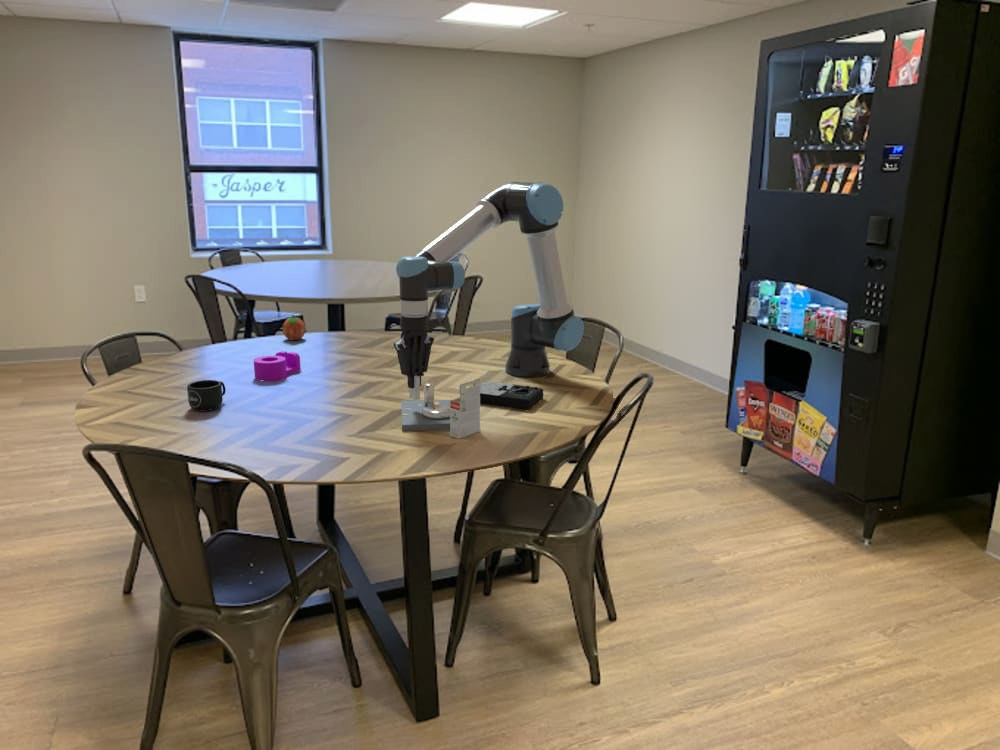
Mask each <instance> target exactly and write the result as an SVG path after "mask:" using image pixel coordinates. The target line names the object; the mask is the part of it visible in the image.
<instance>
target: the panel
mask: <svg viewBox="0 0 1000 750" xmlns="http://www.w3.org/2000/svg"><path fill="white" fill-rule="evenodd" d="M451 400H452V399H434V404H435V405H436V406H447V407H450V401H451ZM400 403H401V404H400V405H401V408H400V409H401V430H402V432H403V431H406V432H407V431H433V430H434V431H435V430H437V431H438V430H439V431H440V430H450V418H448V419H441V420H435V419H428V418H425V417H423V416H422V410H423V409H424V408H426V407H427V406H425V405H424V400H420V399H418V400H401V402H400Z"/></svg>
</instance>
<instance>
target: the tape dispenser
mask: <svg viewBox="0 0 1000 750" xmlns="http://www.w3.org/2000/svg"><path fill="white" fill-rule="evenodd" d="M253 369H254V379H255V378H256V379H258V380H263V381H262V382H265V381H270V382H278V381H277V380H279V381H282V380H285V379H286V378H287V377H289V376H291V375H293V374H296V373H298V372H300V371H301V370H302V369H301V357H300V355H299V354H298V353H297V352H294V351H289V352H288V351H286V350H282V351H281V350H280V351H278V352H277V353H275V354H274V355H263V356H258V357H255V358H254V359H253ZM295 372H296V373H295ZM290 374H291V375H290ZM288 375H289V376H288ZM284 378H285V379H284ZM256 379H255V380H256ZM281 379H282V380H281ZM258 380H257V381H258Z"/></svg>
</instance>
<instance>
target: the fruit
mask: <svg viewBox="0 0 1000 750" xmlns="http://www.w3.org/2000/svg"><path fill="white" fill-rule="evenodd" d="M305 333H306V325H305V323H304V321H303V320H302V318H301V317H299V316H295V315H294V314H292V317H289V318H287V319H286V320H285V321H284V323H283V324H282V334H283V335H284V337H286V339H287V340H290V341H299V340H301V339H302V338H303V337H304V336H305Z"/></svg>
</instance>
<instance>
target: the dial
mask: <svg viewBox="0 0 1000 750" xmlns="http://www.w3.org/2000/svg"><path fill="white" fill-rule="evenodd" d="M423 398H424V405H425V406H427V407H426V408H424V409H423V410H422V416H423V417H425V418H428V419H435V420H441V419H448V418H450V407H447V406H436V405H435V404H434V400H435V383H433V382H426V383H424V384H423Z"/></svg>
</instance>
